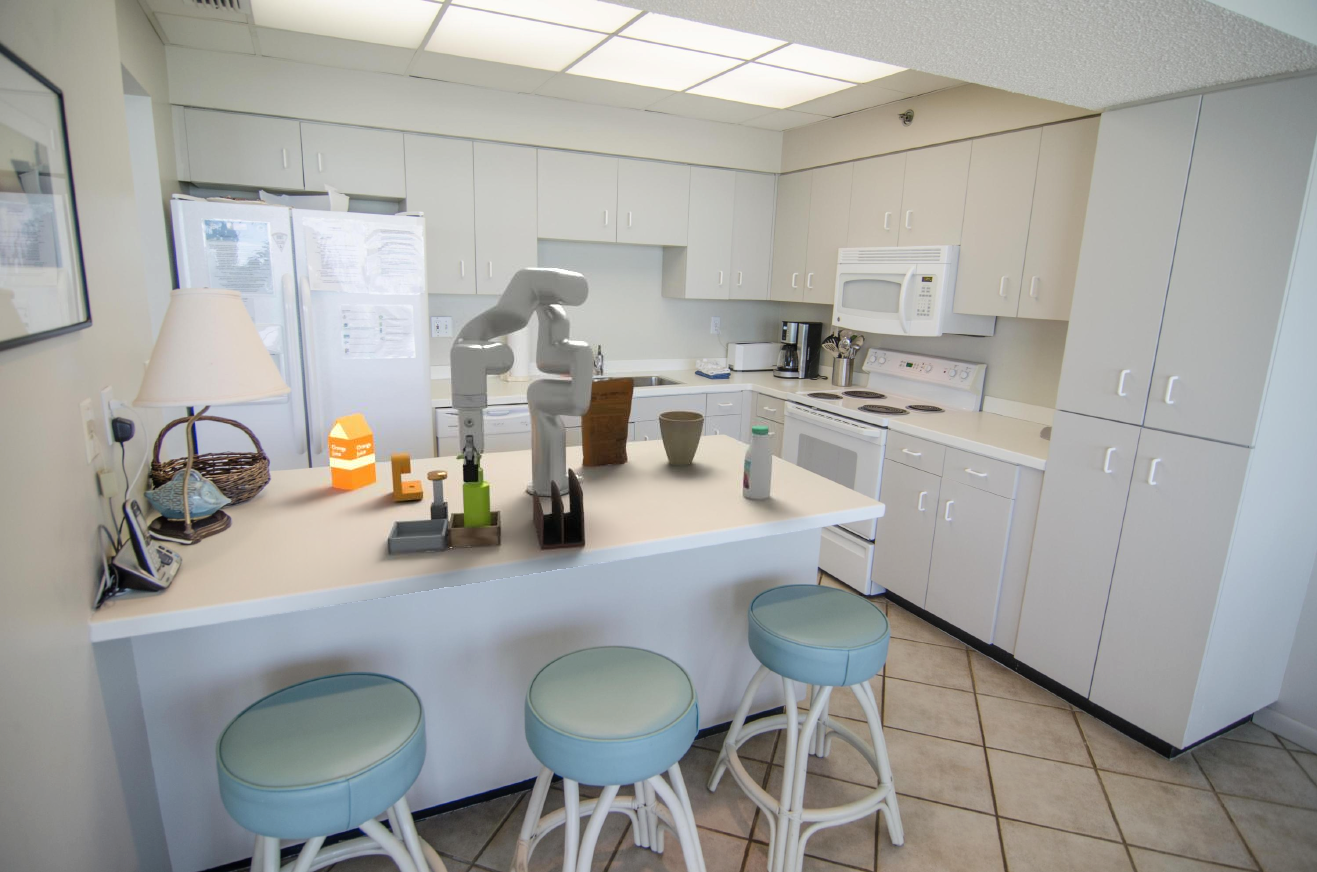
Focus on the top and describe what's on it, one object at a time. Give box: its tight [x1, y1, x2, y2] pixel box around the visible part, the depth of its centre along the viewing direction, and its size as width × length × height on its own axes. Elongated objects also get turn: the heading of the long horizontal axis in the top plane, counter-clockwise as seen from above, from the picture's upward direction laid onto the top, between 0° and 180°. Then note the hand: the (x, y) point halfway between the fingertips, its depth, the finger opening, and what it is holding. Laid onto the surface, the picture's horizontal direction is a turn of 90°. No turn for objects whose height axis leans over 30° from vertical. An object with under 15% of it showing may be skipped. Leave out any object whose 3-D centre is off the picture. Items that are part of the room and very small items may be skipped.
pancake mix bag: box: [580, 377, 635, 468], centre depth 215 cm, size 7×19×28 cm, turn 120°
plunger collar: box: [429, 501, 450, 527], centre depth 160 cm, size 5×5×6 cm
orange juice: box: [327, 412, 377, 491], centre depth 189 cm, size 8×9×20 cm
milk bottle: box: [742, 425, 773, 501], centre depth 188 cm, size 8×8×20 cm
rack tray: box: [387, 518, 449, 555], centre depth 152 cm, size 12×11×4 cm
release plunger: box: [426, 470, 448, 507], centre depth 159 cm, size 4×4×13 cm
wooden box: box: [447, 510, 502, 549], centre depth 155 cm, size 11×10×4 cm
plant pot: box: [658, 410, 705, 467], centre depth 220 cm, size 15×15×16 cm
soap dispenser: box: [455, 454, 491, 528], centre depth 153 cm, size 6×7×20 cm
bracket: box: [390, 453, 424, 502], centre depth 181 cm, size 11×7×12 cm, turn 22°
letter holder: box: [532, 468, 586, 550], centre depth 159 cm, size 10×20×14 cm, turn 16°
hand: (471, 475), depth 152 cm, fingers open, 9 cm apart
